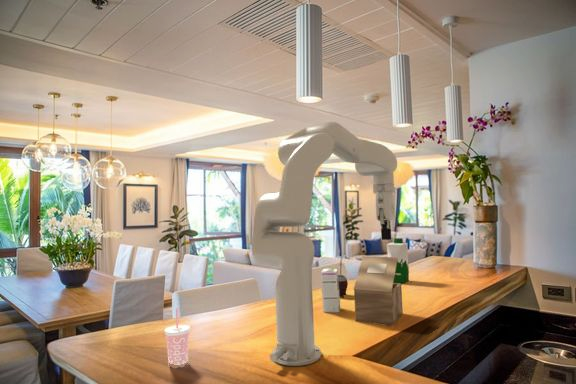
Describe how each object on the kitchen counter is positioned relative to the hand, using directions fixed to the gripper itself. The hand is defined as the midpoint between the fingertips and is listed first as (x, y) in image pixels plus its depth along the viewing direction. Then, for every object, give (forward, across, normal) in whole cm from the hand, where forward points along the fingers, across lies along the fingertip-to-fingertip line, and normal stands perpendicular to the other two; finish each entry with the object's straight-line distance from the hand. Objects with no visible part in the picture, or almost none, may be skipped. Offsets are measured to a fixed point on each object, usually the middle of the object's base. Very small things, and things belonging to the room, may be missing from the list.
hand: (386, 239), depth 138 cm
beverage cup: (+24, -69, +36) cm, 81 cm away
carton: (+24, -14, 0) cm, 28 cm away
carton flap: (+10, -15, 0) cm, 18 cm away
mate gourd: (+25, +9, +23) cm, 35 cm away
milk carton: (+25, +42, +6) cm, 50 cm away
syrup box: (+24, -12, +18) cm, 33 cm away
